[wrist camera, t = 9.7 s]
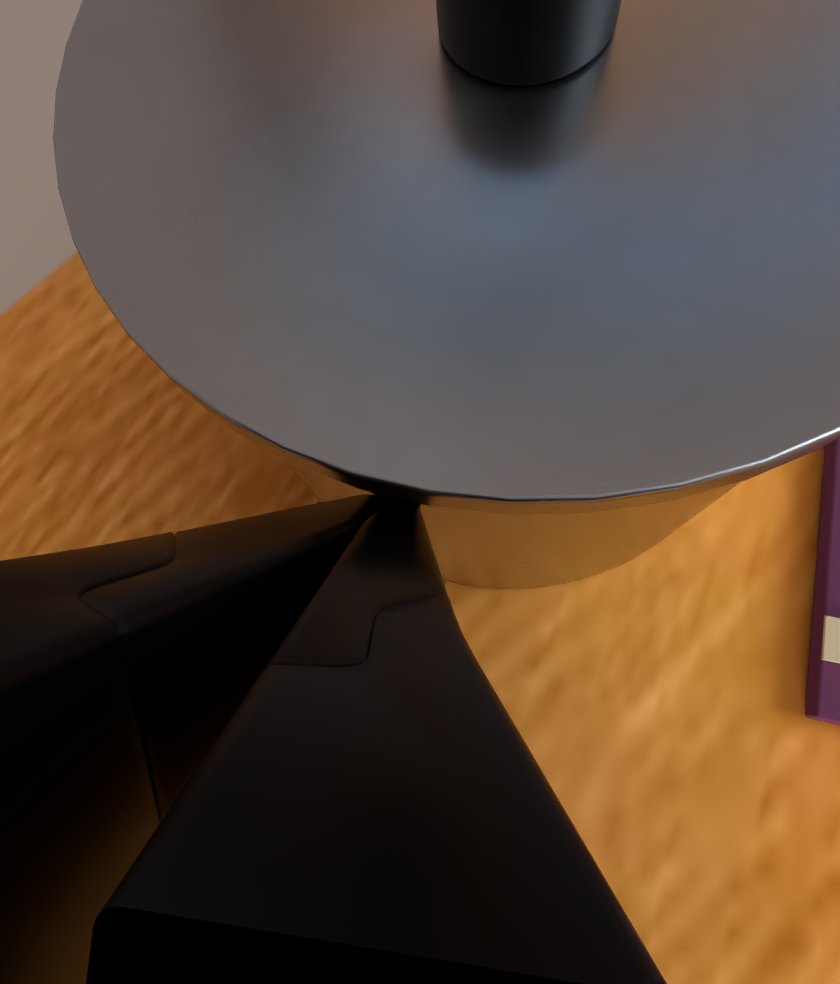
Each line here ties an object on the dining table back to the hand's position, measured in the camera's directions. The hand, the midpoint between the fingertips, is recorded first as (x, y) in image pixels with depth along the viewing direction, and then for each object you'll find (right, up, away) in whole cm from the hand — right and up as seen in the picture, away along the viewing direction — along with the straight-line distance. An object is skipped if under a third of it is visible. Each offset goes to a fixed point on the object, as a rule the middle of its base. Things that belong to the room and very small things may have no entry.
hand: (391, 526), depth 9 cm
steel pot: (+3, +4, +8) cm, 10 cm away
